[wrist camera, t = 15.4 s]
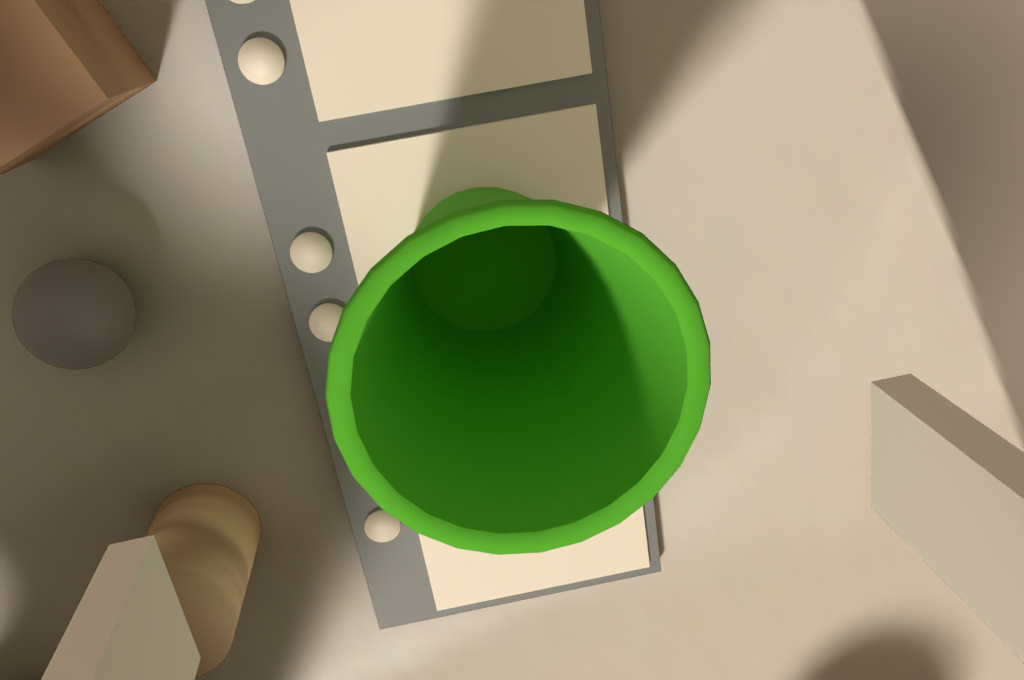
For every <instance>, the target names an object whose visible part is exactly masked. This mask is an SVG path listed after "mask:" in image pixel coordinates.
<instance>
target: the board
mask: <svg viewBox="0 0 1024 680" xmlns="http://www.w3.org/2000/svg"><path fill="white" fill-rule="evenodd" d="M205 2H206V5H207V9H208V12H209V16H210V20H211V23H212V27H213V30H214V34H215V38H216V41H217V45H218V48H219V52H220V56H221V59H222V63H223V66H224V70H225V74H226V77H227V81H228V84H229V88H230V92H231V95H232V99H233V102H234V106H235V110H236V113H237V117H238V120H239V124H240V128H241V131H242V135H243V138H244V142H245V146H246V149H247V153H248V156H249V160H250V164H251V167H252V171H253V174H254V178H255V182H256V185H257V189H258V192H259V196H260V200H261V203H262V207H263V211H264V214H265V218H266V221H267V225H268V229H269V232H270V236H271V239H272V243H273V247H274V250H275V254H276V257H277V261H278V265H279V268H280V272H281V275H282V279H283V283H284V286H285V290H286V293H287V297H288V301H289V304H290V308H291V311H292V315H293V319H294V322H295V326H296V329H297V333H298V337H299V340H300V344H301V347H302V351H303V355H304V358H305V362H306V365H307V369H308V373H309V376H310V380H311V383H312V387H313V391H314V394H315V398H316V401H317V405H318V409H319V412H320V416H321V419H322V423H323V427H324V430H325V434H326V437H327V441H328V445H329V448H330V452H331V455H332V459H333V463H334V466H335V470H336V473H337V477H338V481H339V484H340V488H341V491H342V495H343V499H344V502H345V506H346V509H347V513H348V517H349V520H350V524H351V527H352V531H353V535H354V538H355V542H356V545H357V549H358V553H359V556H360V560H361V563H362V567H363V571H364V574H365V578H366V581H367V585H368V589H369V592H370V596H371V599H372V603H373V607H374V610H375V614H376V617H377V621H378V625H379V628H380V630H381V629H385V628H390V627H395V626H400V625H405V624H409V623H414V622H419V621H424V620H429V619H433V618H438V617H443V616H448V615H453V614H458V613H462V612H467V611H472V610H477V609H482V608H486V607H491V606H496V605H501V604H506V603H511V602H515V601H520V600H525V599H530V598H535V597H539V596H544V595H549V594H554V593H559V592H564V591H568V590H573V589H578V588H583V587H588V586H592V585H597V584H602V583H607V582H612V581H617V580H621V579H626V578H631V577H636V576H641V575H645V574H650V573H655V572H660V571H661V564H660V555H659V546H658V537H657V528H656V519H655V510H654V501H653V498H652V499H651V500H650V501H648V502H647V503H646V504H645V505H643V506H642V507H641V508H639V509H638V510H637V511H635V512H634V513H633V514H632V515H630V516H629V517H628V518H626V519H625V520H624V521H623V522H621V523H620V524H618V525H616V526H614V527H612V528H610V529H608V530H605V531H603V532H601V533H599V534H597V535H595V536H593V537H591V538H589V539H587V540H585V541H583V542H580V543H576V544H572V545H568V546H564V547H560V548H557V549H553V550H549V551H545V552H541V553H523V554H504V555H496V554H490V553H484V552H477V551H471V550H464V549H458V548H455V547H452V546H449V545H447V544H444V543H442V542H439V541H437V540H434V539H431V538H429V537H426V536H424V535H421V534H418V533H417V532H415V531H414V530H412V529H411V528H409V527H408V526H407V525H405V524H404V523H402V522H401V521H399V520H398V519H396V518H395V517H393V516H392V515H390V514H389V513H387V512H386V511H385V510H383V509H382V508H381V507H380V506H379V505H378V504H377V503H376V502H375V501H374V499H373V498H372V497H371V496H370V495H369V494H368V493H367V492H366V490H365V489H364V488H363V487H362V486H361V485H360V484H359V483H358V481H357V480H356V479H355V478H354V477H353V476H352V474H351V472H350V470H349V468H348V466H347V464H346V462H345V460H344V458H343V456H342V454H341V452H340V450H339V448H338V446H337V444H336V442H335V440H334V438H333V433H332V429H331V424H330V419H329V414H328V409H327V404H326V399H325V387H326V373H327V358H328V351H329V348H330V345H331V342H332V339H333V336H334V333H335V331H336V328H337V325H338V322H339V319H340V316H341V313H342V310H343V308H344V307H345V305H346V304H347V302H348V301H349V299H350V298H351V296H352V295H353V293H354V292H355V290H356V289H357V288H358V286H359V285H360V283H361V282H362V280H363V279H364V277H365V276H366V274H367V273H368V271H369V270H370V269H371V268H372V267H373V266H374V265H375V264H376V263H377V262H378V261H380V260H381V259H382V258H383V257H384V256H385V255H386V254H388V253H389V252H390V251H391V250H392V249H393V248H394V247H395V246H397V245H398V244H399V243H400V242H401V241H402V240H403V239H404V238H406V237H407V236H408V235H410V234H412V233H414V231H415V230H416V228H417V227H418V225H419V224H420V223H421V221H422V220H423V218H424V217H425V215H426V214H427V213H428V212H429V211H430V210H431V209H432V208H434V207H435V206H436V205H437V204H438V203H439V202H440V201H442V200H444V199H446V198H447V197H449V196H451V195H453V194H455V193H457V192H460V191H464V190H468V189H472V188H476V187H497V188H501V189H505V190H509V191H513V192H516V193H518V194H521V195H523V196H526V197H528V198H531V199H533V200H548V199H553V200H557V201H561V202H565V203H570V204H574V205H578V206H582V207H586V208H590V209H594V210H598V211H602V212H603V213H605V214H607V215H609V216H611V217H613V218H615V219H617V220H618V221H620V222H622V223H623V221H622V211H621V202H620V193H619V184H618V175H617V166H616V157H615V148H614V139H613V130H612V121H611V112H610V103H609V94H608V85H607V76H606V67H605V58H604V49H603V39H602V30H601V21H600V12H599V3H598V0H205Z"/></svg>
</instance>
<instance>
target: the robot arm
mask: <svg viewBox="0 0 1024 680" xmlns="http://www.w3.org/2000/svg"><path fill="white" fill-rule="evenodd" d="M871 508H872V509H873V510H874V511H875V512H876V513H877V514H878V515H879V516H880V517H881V518H882V519H883V520H884V521H885V522H886V523H887V524H888V525H889V526H890V527H891V528H892V529H893V530H894V531H895V532H896V533H897V534H898V535H899V537H900V538H901V539H902V540H903V541H904V542H905V543H906V544H907V545H908V546H909V547H910V548H911V549H912V550H913V551H914V552H915V553H916V554H917V555H918V556H919V557H920V558H921V559H922V560H923V561H924V562H925V563H926V564H927V565H928V566H929V567H930V568H931V569H932V570H933V571H934V572H935V573H936V574H937V575H938V576H939V577H940V579H941V580H942V581H943V582H944V583H945V584H946V585H947V586H948V587H949V588H950V589H951V590H952V591H953V592H954V593H955V594H956V595H957V596H958V597H959V598H960V599H961V600H962V601H963V602H964V603H965V604H966V605H967V606H968V607H969V608H970V609H971V610H972V611H973V612H974V613H975V614H976V615H977V616H978V617H979V618H980V619H981V621H982V622H983V623H984V624H985V625H986V626H987V627H988V628H989V629H990V630H991V631H992V632H993V633H994V634H995V635H996V636H997V637H998V638H999V639H1000V640H1001V641H1002V642H1003V643H1004V644H1005V645H1006V646H1007V647H1008V648H1009V649H1010V650H1011V651H1012V652H1013V653H1014V654H1015V655H1016V656H1017V657H1018V658H1019V659H1020V660H1021V661H1022V663H1023V664H1024V452H1022V451H1021V450H1020V449H1018V448H1017V447H1015V446H1014V445H1012V444H1011V443H1009V442H1008V441H1007V440H1005V439H1004V438H1002V437H1001V436H999V435H998V434H996V433H995V432H994V431H992V430H991V429H989V428H988V427H986V426H985V425H984V424H982V423H981V422H979V421H978V420H976V419H975V418H973V417H972V416H971V415H969V414H968V413H966V412H965V411H963V410H962V409H961V408H959V407H958V406H956V405H955V404H953V403H952V402H950V401H949V400H948V399H946V398H945V397H943V396H942V395H940V394H939V393H938V392H936V391H935V390H933V389H932V388H930V387H929V386H927V385H926V384H925V383H923V382H922V381H920V380H919V379H917V378H916V377H915V376H913V375H912V374H906V375H902V376H897V377H892V378H888V379H883V380H878V381H873V382H871ZM200 658H201V657H200V655H199V652H198V649H197V647H196V644H195V642H194V639H193V636H192V634H191V631H190V629H189V626H188V623H187V621H186V618H185V615H184V613H183V610H182V608H181V605H180V602H179V600H178V597H177V595H176V592H175V589H174V587H173V584H172V581H171V579H170V576H169V574H168V571H167V568H166V566H165V563H164V561H163V558H162V555H161V553H160V550H159V547H158V545H157V542H156V540H155V537H154V535H152V536H147V537H142V538H138V539H133V540H128V541H124V542H119V543H114V544H109V546H108V548H107V550H106V552H105V554H104V556H103V558H102V560H101V562H100V564H99V566H98V568H97V570H96V572H95V574H94V575H93V577H92V579H91V581H90V583H89V585H88V587H87V589H86V591H85V593H84V595H83V597H82V599H81V601H80V603H79V605H78V607H77V609H76V611H75V613H74V615H73V617H72V619H71V621H70V623H69V625H68V627H67V629H66V631H65V633H64V635H63V637H62V639H61V641H60V643H59V645H58V647H57V649H56V651H55V653H54V655H53V657H52V659H51V661H50V663H49V665H48V667H47V669H46V671H45V673H44V675H43V677H42V679H41V680H195V676H196V673H197V669H198V666H199V662H200Z"/></svg>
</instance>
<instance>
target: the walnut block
mask: <svg viewBox="0 0 1024 680" xmlns="http://www.w3.org/2000/svg"><path fill="white" fill-rule="evenodd" d="M155 81H157V80H156V79H155V77H154V76H153V74H152V73H151V72H150V70H149V69H148V67H147V66H146V65H145V63H144V62H143V60H142V59H141V58H140V56H139V55H138V54H137V52H136V51H135V49H134V48H133V47H132V45H131V44H130V42H129V41H128V40H127V38H126V37H125V35H124V34H123V33H122V31H121V30H120V29H119V27H118V26H117V24H116V23H115V22H114V20H113V19H112V17H111V16H110V15H109V13H108V12H107V10H106V9H105V8H104V6H103V5H102V4H101V2H100V1H99V0H0V175H1V174H3V173H5V172H7V171H9V170H12V169H14V168H16V167H18V166H20V165H22V164H25V163H27V162H29V161H31V160H32V159H34V158H35V157H37V156H39V155H40V154H42V153H43V152H45V151H47V150H48V149H50V148H51V147H53V146H54V145H56V144H58V143H59V142H61V141H62V140H64V139H65V138H67V137H69V136H70V135H72V134H73V133H75V132H77V131H78V130H80V129H81V128H83V127H84V126H86V125H88V124H89V123H91V122H92V121H94V120H95V119H97V118H99V117H100V116H102V115H103V114H105V113H107V112H108V111H110V110H111V109H113V108H114V107H116V106H118V105H119V104H121V103H122V102H124V101H125V100H127V99H129V98H130V97H132V96H133V95H135V94H137V93H138V92H140V91H141V90H143V89H144V88H146V87H148V86H149V85H151V84H152V83H154V82H155Z"/></svg>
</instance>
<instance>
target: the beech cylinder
mask: <svg viewBox="0 0 1024 680" xmlns="http://www.w3.org/2000/svg"><path fill="white" fill-rule="evenodd" d="M152 535H154V537H155V540H156V542H157V545H158V547H159V550H160V553H161V555H162V558H163V561H164V563H165V566H166V568H167V571H168V574H169V576H170V579H171V581H172V584H173V587H174V589H175V592H176V595H177V597H178V600H179V602H180V605H181V608H182V610H183V613H184V615H185V618H186V621H187V623H188V626H189V629H190V631H191V634H192V636H193V639H194V642H195V644H196V647H197V649H198V652H199V655H200V657H201V658H200V662H199V666H198V669H197V673H196V676H195V678H197V677H199V676H202V675H204V674H206V673H208V672H210V671H212V670H213V669H215V668H216V667H217V666H218V665H219V664H220V663H221V662H222V661H223V660H224V659H225V658H226V656H227V655H228V653H229V651H230V649H231V646H232V642H233V639H234V635H235V631H236V627H237V623H238V620H239V616H240V612H241V608H242V604H243V600H244V597H245V593H246V589H247V585H248V581H249V578H250V574H251V570H252V566H253V562H254V558H255V555H256V551H257V547H258V543H259V539H260V535H261V523H260V519H259V516H258V514H257V512H256V510H255V508H254V507H253V506H252V504H251V503H250V502H249V501H248V500H247V499H246V498H245V497H243V496H242V495H241V494H239V493H237V492H236V491H234V490H232V489H229V488H227V487H223V486H219V485H214V484H197V485H191V486H188V487H185V488H182V489H180V490H178V491H176V492H174V493H173V494H171V495H170V496H169V497H168V498H167V499H166V500H164V502H163V503H162V504H161V506H160V508H159V509H158V511H157V513H156V516H155V518H154V520H153V522H152V524H151V526H150V528H149V530H148V533H147V535H146V537H147V536H152Z"/></svg>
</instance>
